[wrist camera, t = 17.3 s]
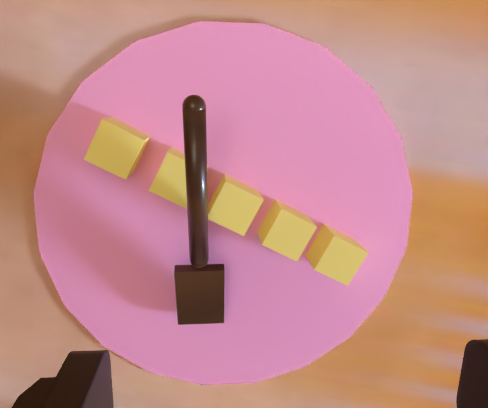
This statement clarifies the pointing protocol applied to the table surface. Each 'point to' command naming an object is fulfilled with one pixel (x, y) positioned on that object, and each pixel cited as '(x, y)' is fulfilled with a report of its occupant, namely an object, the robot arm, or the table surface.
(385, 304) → the table surface
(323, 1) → the table surface
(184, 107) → the spatula
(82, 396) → the robot arm
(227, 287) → the platter
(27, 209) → the table surface
